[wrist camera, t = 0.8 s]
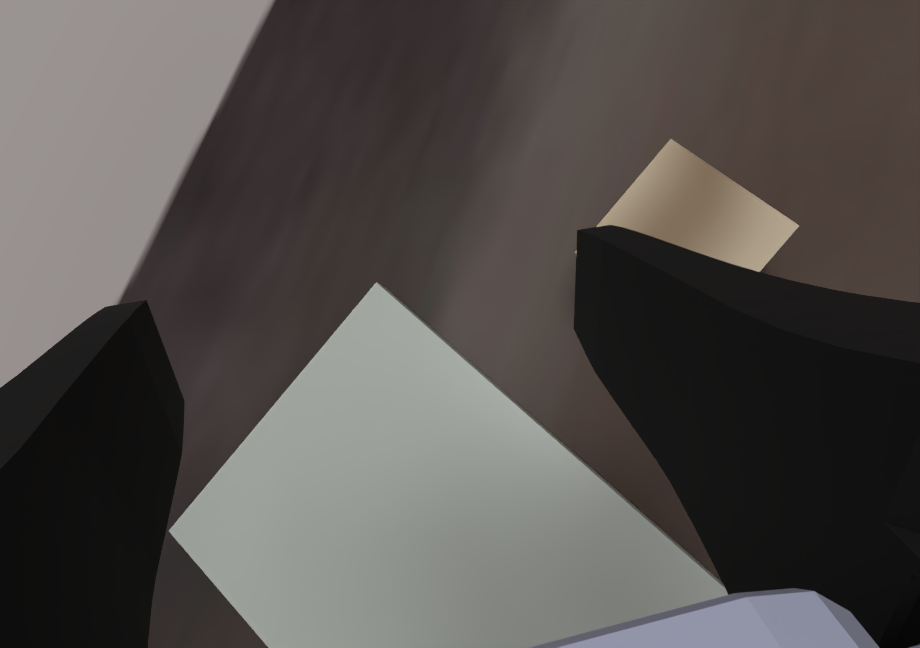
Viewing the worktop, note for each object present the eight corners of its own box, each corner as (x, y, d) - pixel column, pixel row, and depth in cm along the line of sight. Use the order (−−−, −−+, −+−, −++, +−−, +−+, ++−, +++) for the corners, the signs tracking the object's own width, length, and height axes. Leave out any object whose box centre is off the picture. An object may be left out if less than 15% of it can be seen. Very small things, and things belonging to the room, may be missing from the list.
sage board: (774, 629, 24) (783, 639, 22) (523, 914, 24) (518, 939, 23) (385, 288, 29) (376, 282, 28) (186, 526, 30) (168, 530, 28)
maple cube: (765, 263, 26) (799, 225, 21) (681, 360, 26) (696, 345, 21) (660, 190, 27) (670, 138, 22) (582, 283, 27) (574, 252, 22)
